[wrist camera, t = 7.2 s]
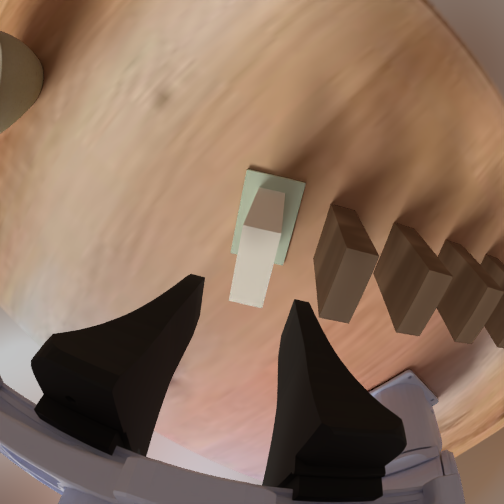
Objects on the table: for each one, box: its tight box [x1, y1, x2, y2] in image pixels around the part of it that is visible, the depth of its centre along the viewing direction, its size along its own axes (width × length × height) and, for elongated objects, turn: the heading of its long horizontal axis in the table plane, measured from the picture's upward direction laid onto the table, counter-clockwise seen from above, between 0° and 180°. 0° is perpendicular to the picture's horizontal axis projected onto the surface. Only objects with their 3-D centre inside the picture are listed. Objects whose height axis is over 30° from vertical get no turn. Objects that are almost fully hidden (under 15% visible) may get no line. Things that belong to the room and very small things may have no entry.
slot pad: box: [231, 169, 306, 265], centre depth 21 cm, size 4×6×1 cm, turn 169°
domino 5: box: [481, 254, 504, 348], centre depth 18 cm, size 2×4×7 cm, turn 168°
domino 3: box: [373, 222, 453, 336], centre depth 18 cm, size 2×4×7 cm, turn 169°
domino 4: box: [437, 240, 504, 344], centre depth 18 cm, size 2×4×7 cm, turn 168°
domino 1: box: [229, 187, 285, 308], centre depth 18 cm, size 2×4×7 cm, turn 169°
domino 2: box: [313, 204, 379, 323], centre depth 18 cm, size 2×4×7 cm, turn 169°
